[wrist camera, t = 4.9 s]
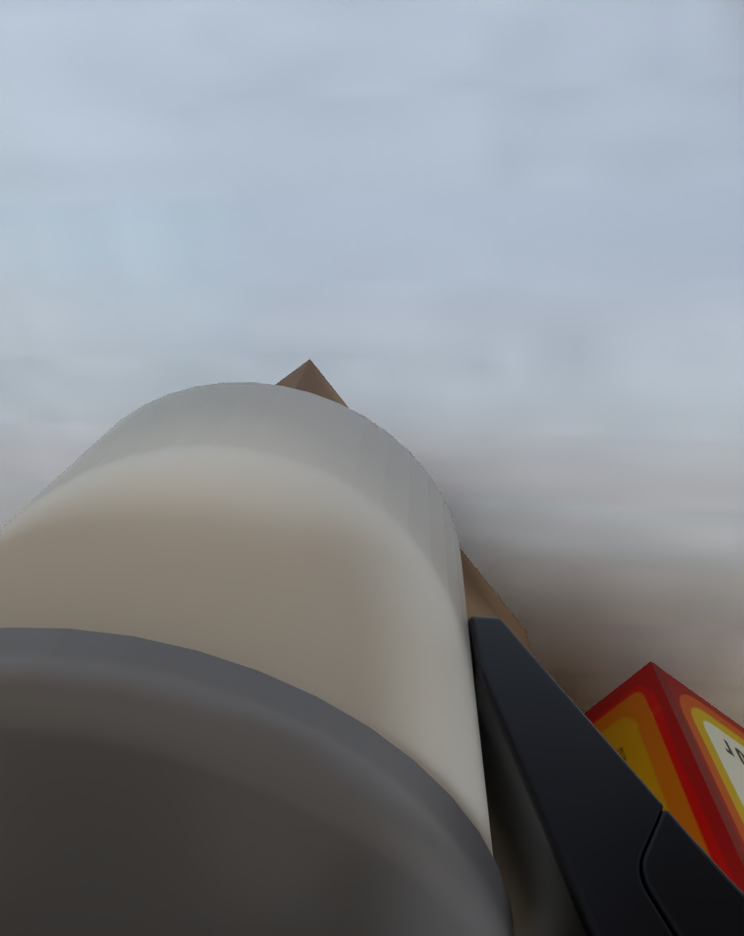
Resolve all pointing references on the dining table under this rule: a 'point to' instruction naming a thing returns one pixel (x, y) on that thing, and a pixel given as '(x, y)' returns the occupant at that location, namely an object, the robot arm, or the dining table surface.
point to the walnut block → (476, 587)
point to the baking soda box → (682, 759)
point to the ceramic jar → (241, 685)
